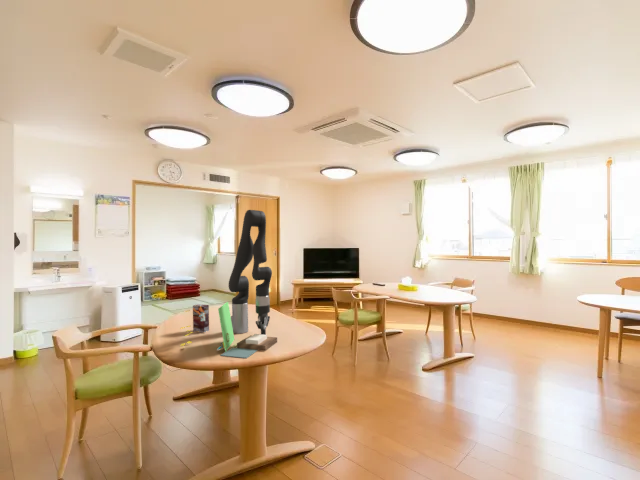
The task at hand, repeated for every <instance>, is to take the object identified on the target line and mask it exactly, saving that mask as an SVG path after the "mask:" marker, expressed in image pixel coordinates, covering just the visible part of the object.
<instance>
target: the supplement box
mask: <svg viewBox="0 0 640 480" xmlns="http://www.w3.org/2000/svg"><path fill="white" fill-rule="evenodd" d="M200 305H201V308H202V310H203V311H204V312H205V313H206V315H205V316H206V317H205V321H200V320H201V317H202V316H200V315H199V314H198V313H196V312H195V311H194V310H193V308H195V310H196V311H199V308H200ZM199 313H201V311H199ZM199 316H200V317H199ZM202 318H203V317H202ZM192 328H193V329H192V330H193V331H192V332H195V331H199V332H198V333H203V332H205V333H207V332H209V331H210V307H209V304H199V303H198V304H194V305H192ZM206 331H207V332H206Z"/></svg>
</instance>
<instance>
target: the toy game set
mask: <svg viewBox="0 0 640 480" xmlns="http://www.w3.org/2000/svg"><path fill="white" fill-rule="evenodd" d="M201 305H202V304H201ZM201 305H200V308H199V311H201V313H199V311H196V310H195V308H193V307H192V311H193V310H194V311H195V312H196V313H198V314H199V315H200V316H202V317H203V318H202V317H201V320H200V321H205V317H206V316H205V315H206V313H205V312H204V311H203V310H202V308H201ZM230 311H231V310H230V306H229V301H226V302H225V303H223V304H222V305H221V306H220V307H218V316H219V317H218V318H219V323H220V328H221V334H222V339H223V341H221V342H220V345H221V346H218V347H217V348H216V351H221V350H224V353H225V352H226V351H228V350H229V348H230V347H231V345H232V344H233V342H234V341H235V335H234V334H235V333H233V328H232V322H231V316H232V315H231V312H230ZM187 312H188V313H189V312H191V310H190V309H189V310H185V311H184V313H187ZM200 316H199V317H200ZM189 327H192V326H191V325H186V326H183V327H180V328H179V329H180V330H181V329H185V328H189ZM191 330H192V329H188V330H186V332H188V334H185V335H184V337H187V336H190V334H192V333H194V331H191ZM192 343H193V342H192V340H191V341H186V342H184V343H181V344H180V346H181V347H184V346H185V347H186V344H187V345H188V344H192Z"/></svg>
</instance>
